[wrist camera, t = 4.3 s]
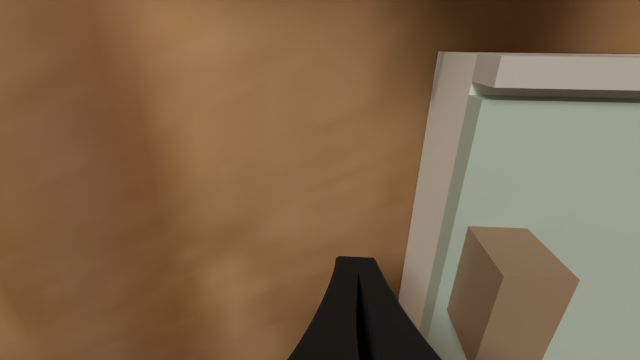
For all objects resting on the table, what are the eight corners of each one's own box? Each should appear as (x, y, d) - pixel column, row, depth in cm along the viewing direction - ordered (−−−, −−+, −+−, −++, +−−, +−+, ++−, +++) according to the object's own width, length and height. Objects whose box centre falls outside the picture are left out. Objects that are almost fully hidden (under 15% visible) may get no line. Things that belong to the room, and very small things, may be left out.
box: (629, 322, 18) (739, 428, 13) (396, 309, 19) (417, 404, 14) (792, 56, 12) (1113, 64, 7) (438, 51, 13) (501, 55, 8)
